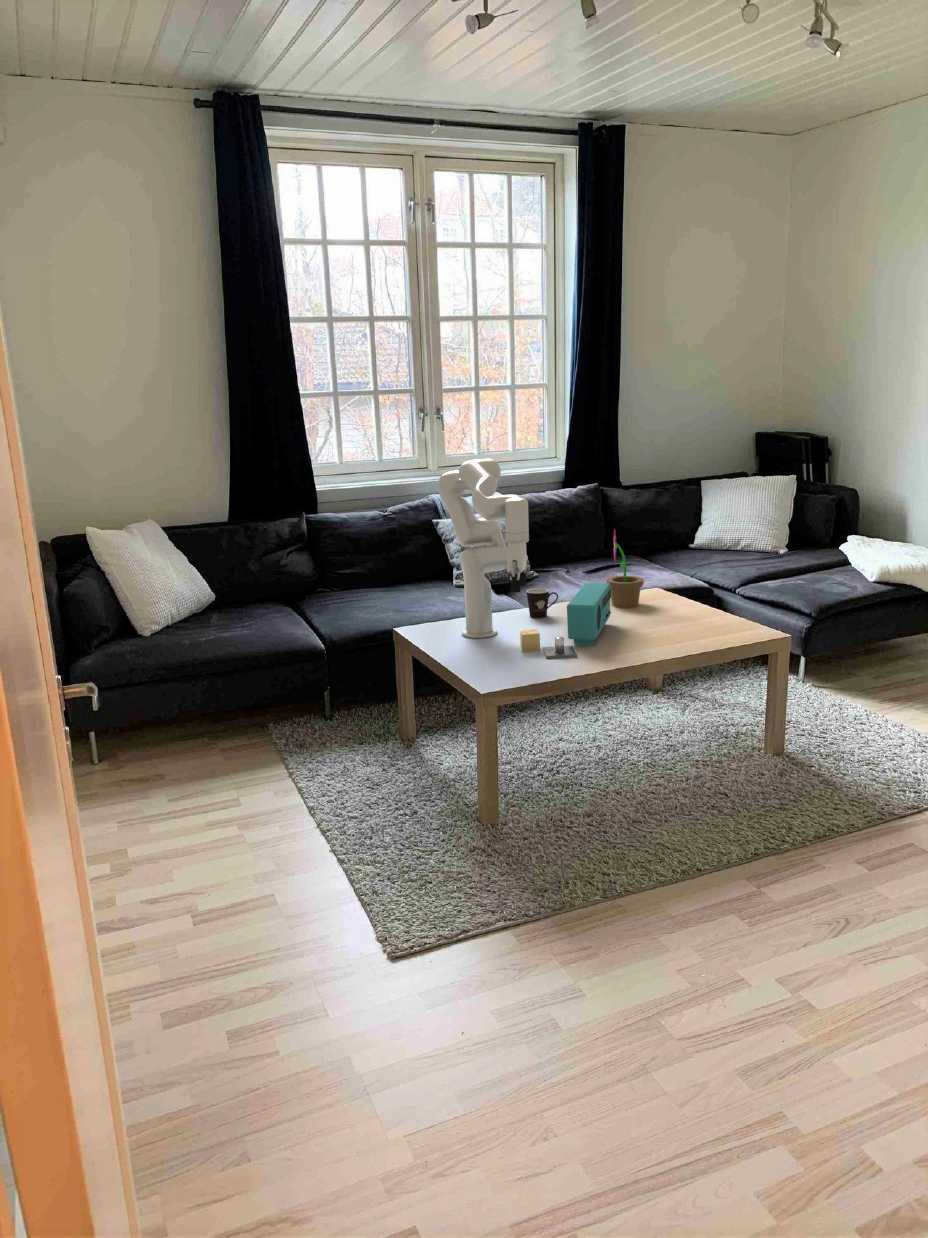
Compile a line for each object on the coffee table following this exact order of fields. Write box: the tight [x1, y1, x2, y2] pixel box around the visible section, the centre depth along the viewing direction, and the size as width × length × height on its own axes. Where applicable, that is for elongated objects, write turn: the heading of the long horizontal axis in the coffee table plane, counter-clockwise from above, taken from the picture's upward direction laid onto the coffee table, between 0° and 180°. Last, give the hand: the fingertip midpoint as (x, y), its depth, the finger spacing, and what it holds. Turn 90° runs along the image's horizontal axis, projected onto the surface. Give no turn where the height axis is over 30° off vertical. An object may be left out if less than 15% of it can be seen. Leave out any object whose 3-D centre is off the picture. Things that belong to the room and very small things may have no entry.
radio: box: [566, 582, 612, 647], centre depth 334 cm, size 34×10×15 cm, turn 163°
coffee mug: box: [525, 587, 559, 619], centre depth 362 cm, size 12×9×10 cm
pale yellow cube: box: [519, 628, 541, 653], centre depth 321 cm, size 6×6×6 cm
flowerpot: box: [606, 528, 645, 609], centre depth 371 cm, size 14×14×30 cm
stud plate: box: [542, 636, 578, 660], centre depth 315 cm, size 10×10×5 cm
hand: (518, 588), depth 311 cm, fingers open, 9 cm apart
